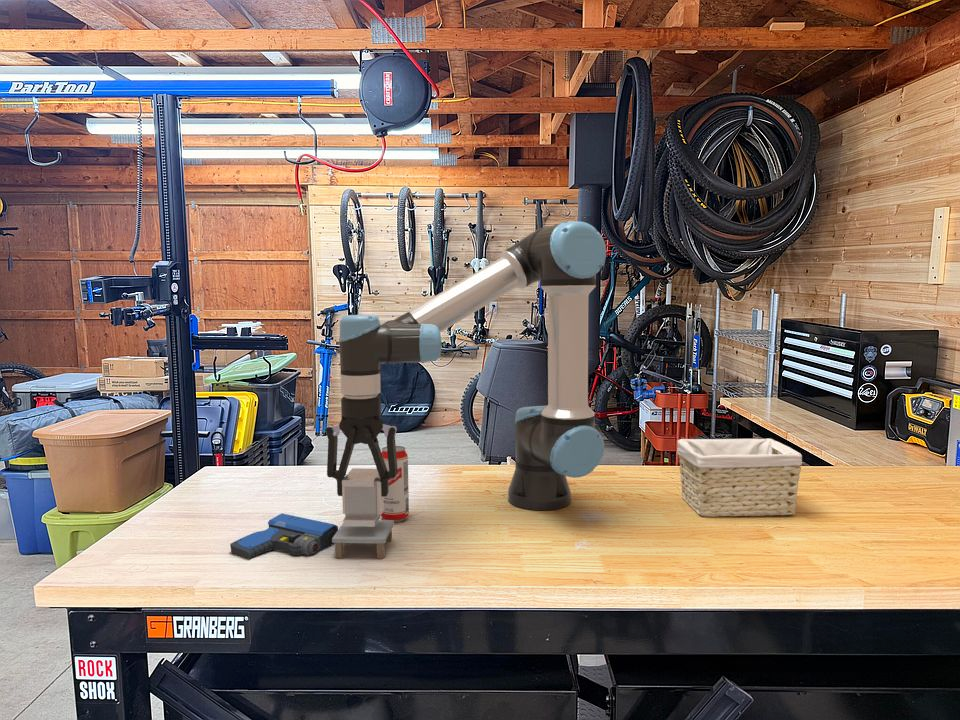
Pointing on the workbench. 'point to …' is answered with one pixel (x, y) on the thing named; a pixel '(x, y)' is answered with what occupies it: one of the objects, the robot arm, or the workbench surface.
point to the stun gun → (287, 537)
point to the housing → (361, 497)
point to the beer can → (397, 488)
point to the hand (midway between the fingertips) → (363, 511)
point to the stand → (364, 536)
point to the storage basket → (739, 476)
